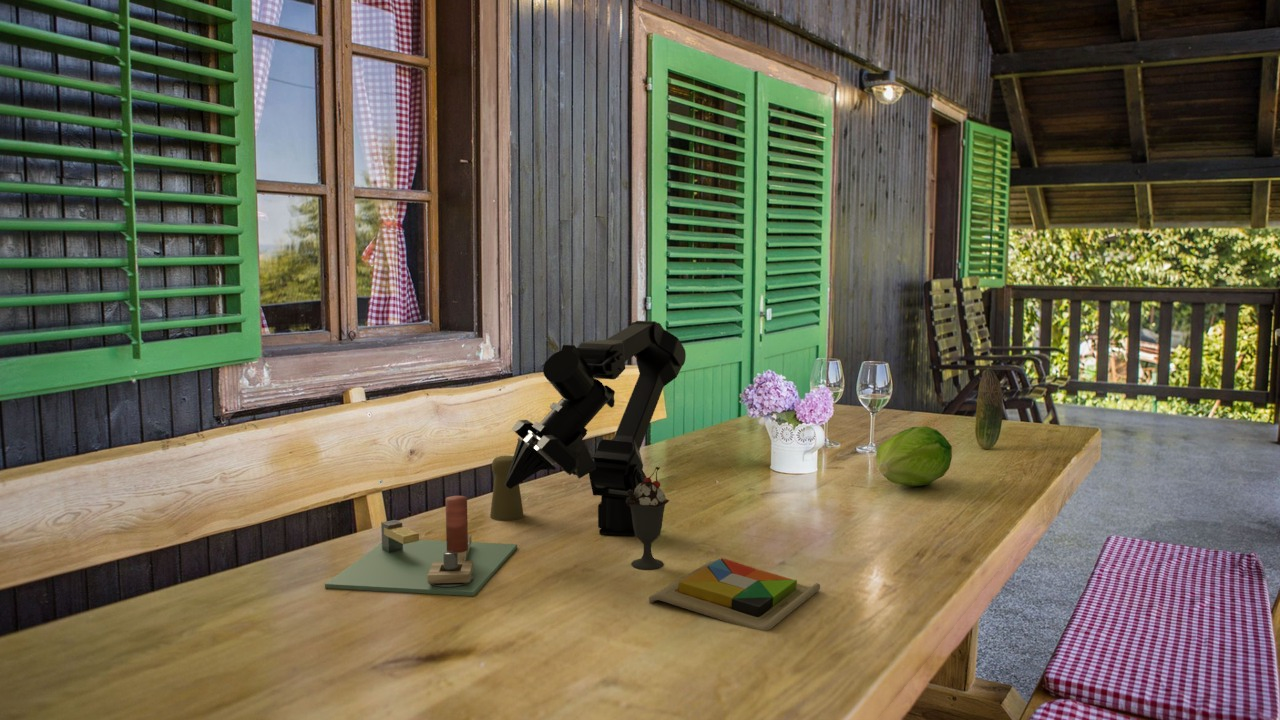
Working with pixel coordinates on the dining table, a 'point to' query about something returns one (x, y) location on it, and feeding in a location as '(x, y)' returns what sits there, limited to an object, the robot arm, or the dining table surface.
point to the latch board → (419, 568)
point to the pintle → (451, 569)
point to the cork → (504, 492)
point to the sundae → (647, 518)
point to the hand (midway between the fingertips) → (507, 486)
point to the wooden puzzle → (737, 594)
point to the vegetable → (988, 410)
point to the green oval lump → (914, 456)
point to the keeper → (396, 536)
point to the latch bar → (455, 544)
